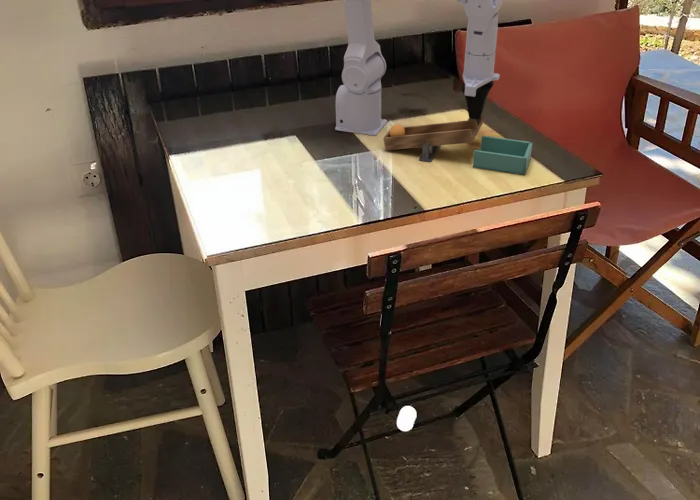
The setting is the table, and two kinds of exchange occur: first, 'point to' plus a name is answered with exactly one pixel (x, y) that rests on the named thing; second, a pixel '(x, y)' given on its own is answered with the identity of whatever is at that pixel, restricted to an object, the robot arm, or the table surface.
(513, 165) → the teal open-ended tray
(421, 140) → the lever
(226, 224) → the table surface
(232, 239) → the table surface
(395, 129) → the ball
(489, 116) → the table surface
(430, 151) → the fulcrum
